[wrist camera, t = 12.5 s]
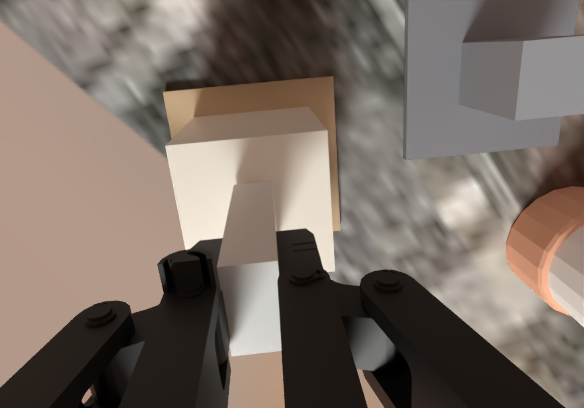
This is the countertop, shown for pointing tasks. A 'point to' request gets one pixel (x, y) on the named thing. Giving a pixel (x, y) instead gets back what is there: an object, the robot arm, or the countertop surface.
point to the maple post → (262, 98)
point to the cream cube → (254, 172)
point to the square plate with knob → (489, 75)
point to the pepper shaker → (552, 249)
